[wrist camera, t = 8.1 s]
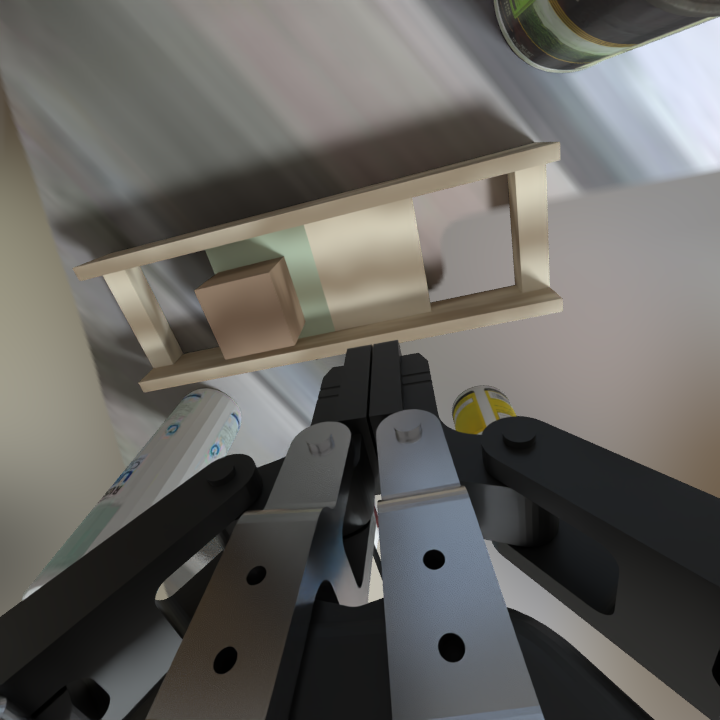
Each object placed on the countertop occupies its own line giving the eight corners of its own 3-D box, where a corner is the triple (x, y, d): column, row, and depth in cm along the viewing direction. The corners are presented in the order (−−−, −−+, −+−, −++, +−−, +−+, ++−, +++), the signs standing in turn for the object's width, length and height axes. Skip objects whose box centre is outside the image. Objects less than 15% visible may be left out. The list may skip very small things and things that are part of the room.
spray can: (194, 374, 39) (33, 567, 21) (255, 408, 40) (151, 614, 22) (170, 419, 41) (9, 623, 24) (227, 448, 43) (116, 661, 25)
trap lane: (109, 253, 33) (72, 268, 29) (535, 142, 28) (559, 141, 24) (169, 367, 38) (144, 392, 34) (541, 291, 33) (562, 311, 29)
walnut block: (218, 272, 32) (194, 290, 28) (284, 256, 31) (268, 272, 27) (244, 334, 34) (225, 359, 30) (305, 321, 33) (294, 345, 29)
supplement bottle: (453, 433, 40) (472, 512, 31) (448, 387, 38) (467, 459, 29) (510, 426, 39) (544, 505, 31) (508, 379, 37) (545, 451, 28)
